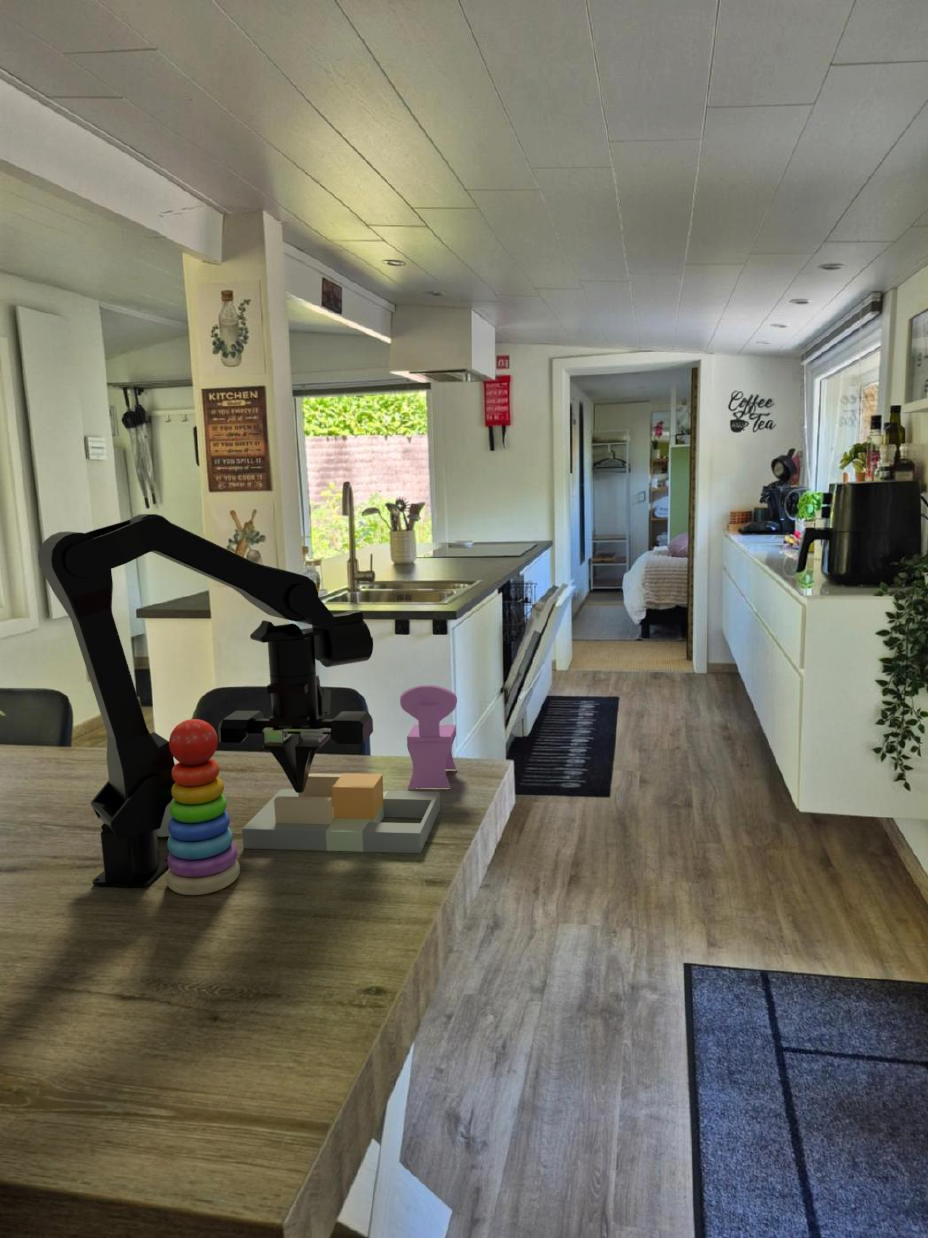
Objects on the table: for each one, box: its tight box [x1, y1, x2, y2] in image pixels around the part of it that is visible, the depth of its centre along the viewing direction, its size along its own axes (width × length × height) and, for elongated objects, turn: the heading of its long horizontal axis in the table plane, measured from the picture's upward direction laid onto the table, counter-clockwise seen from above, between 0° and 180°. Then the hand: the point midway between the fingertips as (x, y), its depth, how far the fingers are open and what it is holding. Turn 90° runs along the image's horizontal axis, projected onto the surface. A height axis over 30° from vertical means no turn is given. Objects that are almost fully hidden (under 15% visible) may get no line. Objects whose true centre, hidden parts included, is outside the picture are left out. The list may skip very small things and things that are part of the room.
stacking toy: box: [165, 718, 241, 896], centre depth 95 cm, size 8×8×19 cm
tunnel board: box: [241, 772, 441, 854], centre depth 110 cm, size 14×22×6 cm, turn 82°
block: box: [332, 772, 384, 819], centre depth 110 cm, size 5×5×4 cm
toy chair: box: [399, 684, 458, 790], centre depth 127 cm, size 8×9×15 cm
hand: (300, 791), depth 111 cm, fingers closed
